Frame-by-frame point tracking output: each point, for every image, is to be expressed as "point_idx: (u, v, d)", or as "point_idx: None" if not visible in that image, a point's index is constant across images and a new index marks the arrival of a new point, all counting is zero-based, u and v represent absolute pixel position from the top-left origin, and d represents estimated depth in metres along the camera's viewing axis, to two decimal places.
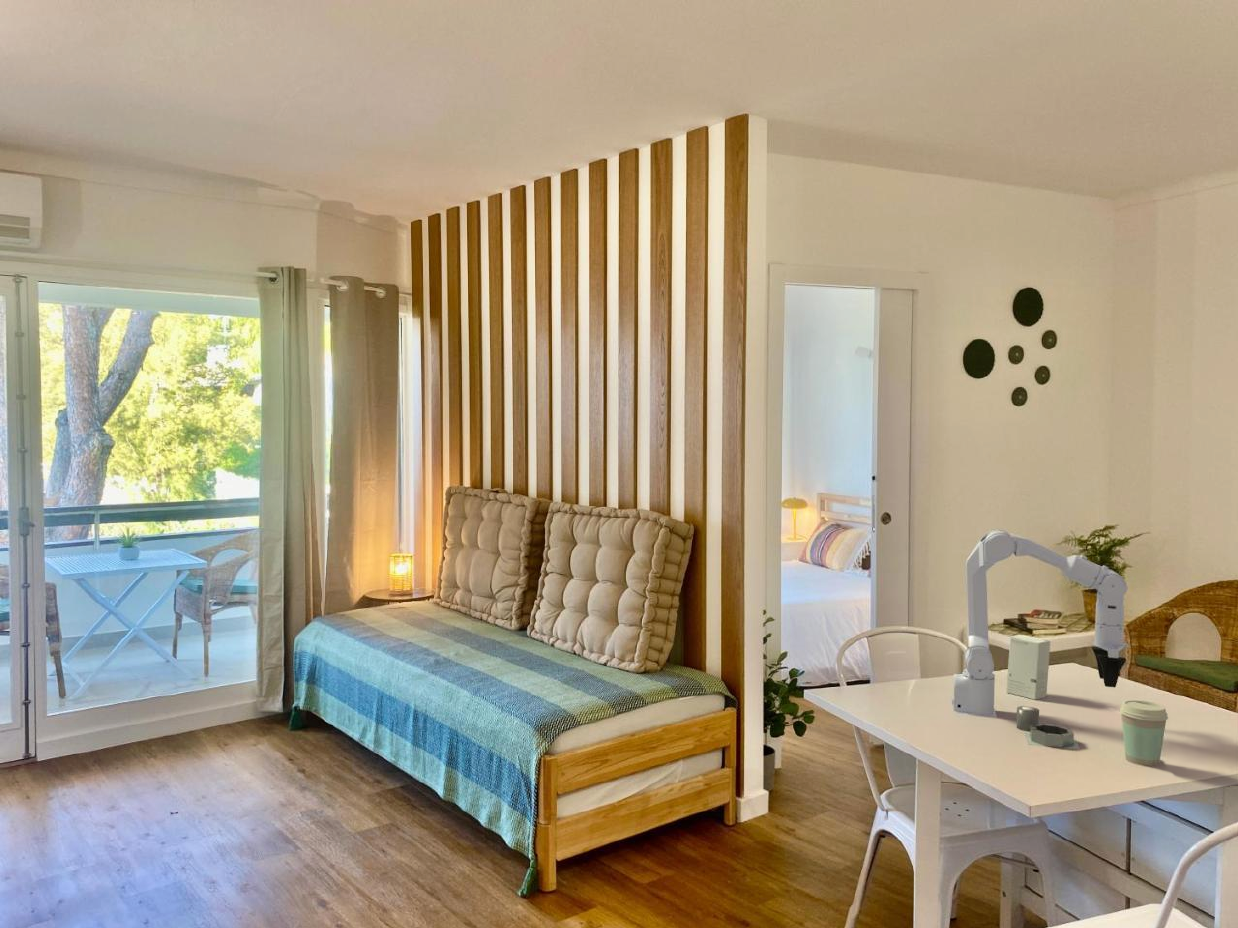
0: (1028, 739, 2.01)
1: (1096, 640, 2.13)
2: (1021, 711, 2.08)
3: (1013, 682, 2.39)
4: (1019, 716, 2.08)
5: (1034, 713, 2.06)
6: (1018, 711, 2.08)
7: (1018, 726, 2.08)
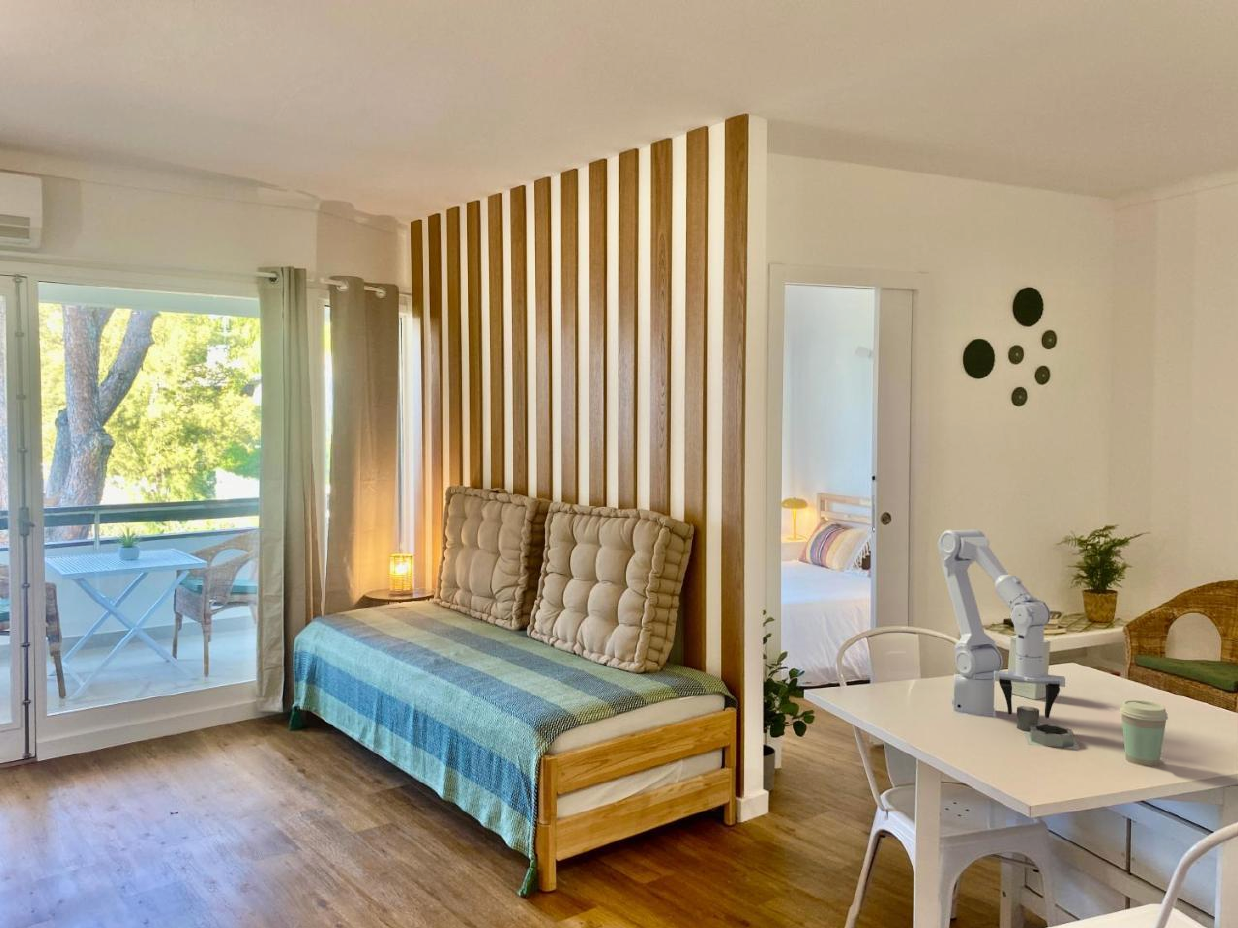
0: (1028, 739, 2.01)
1: None
2: (1021, 711, 2.08)
3: (1013, 682, 2.39)
4: (1019, 716, 2.08)
5: (1034, 713, 2.06)
6: (1018, 711, 2.08)
7: (1018, 726, 2.08)
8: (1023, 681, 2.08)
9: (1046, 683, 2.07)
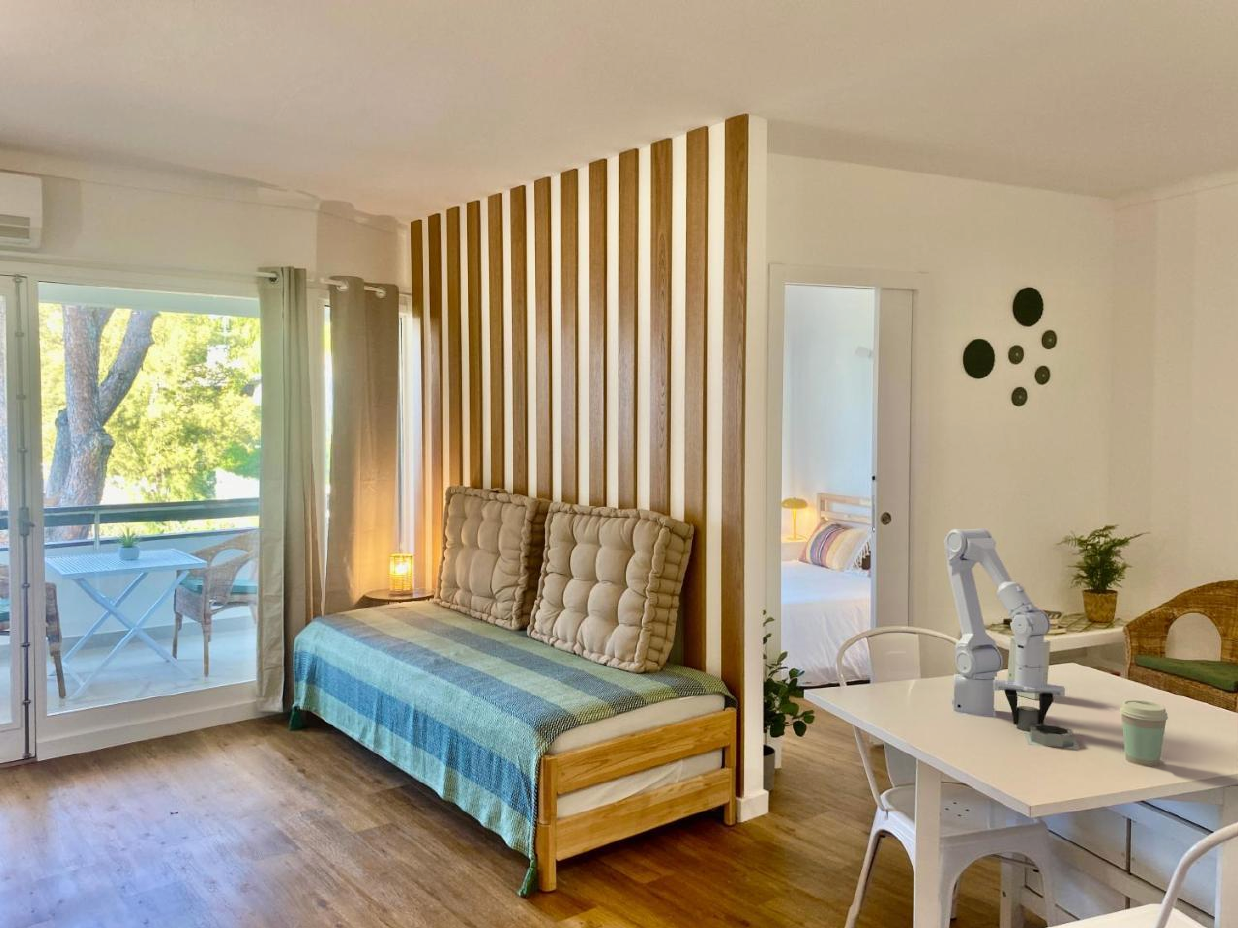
0: (1028, 739, 2.01)
1: None
2: (1021, 711, 2.08)
3: None
4: (1019, 716, 2.08)
5: (1034, 712, 2.06)
6: (1018, 711, 2.08)
7: (1018, 726, 2.08)
8: (1023, 691, 2.09)
9: (1046, 693, 2.07)
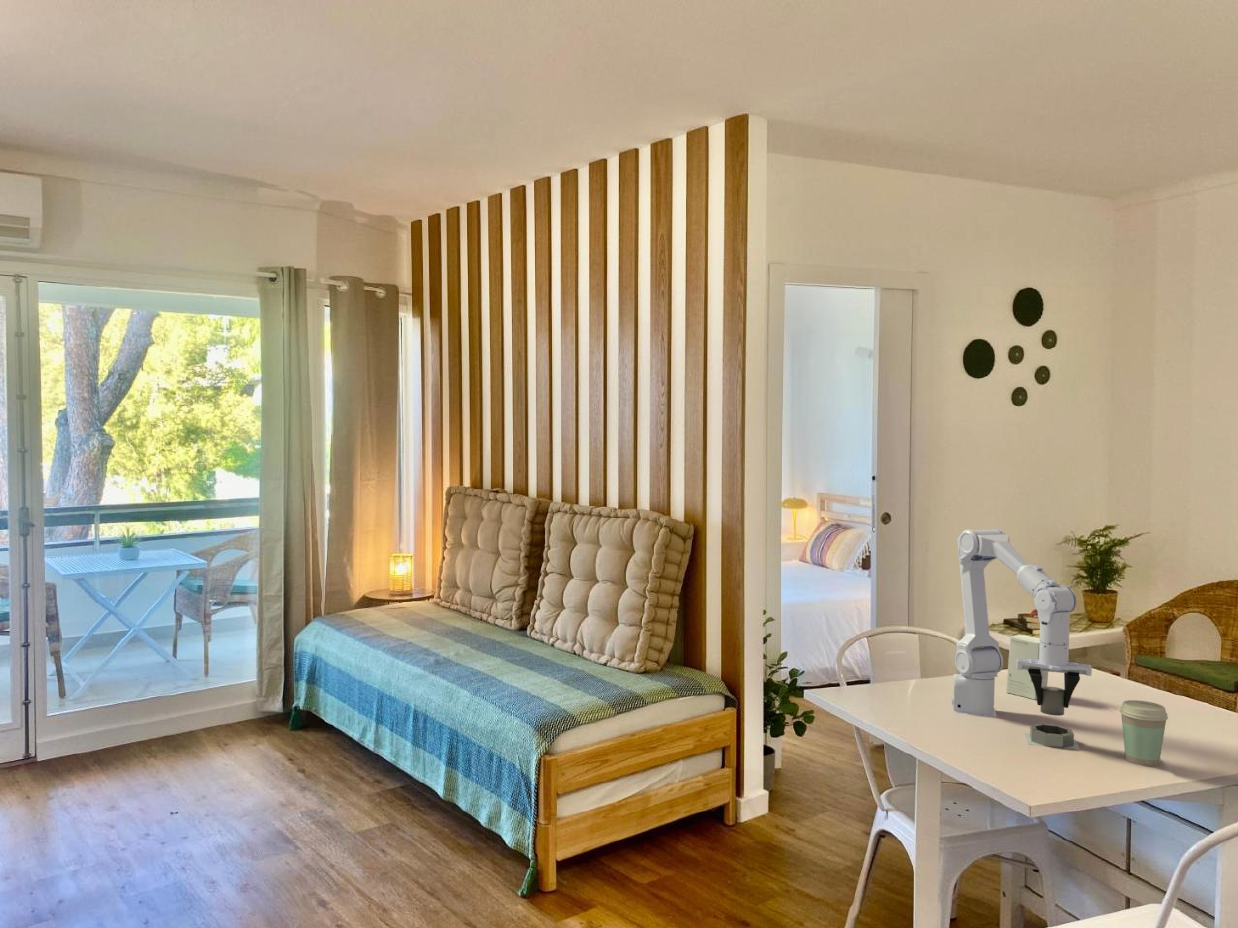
0: (1028, 739, 2.01)
1: None
2: (1046, 691, 1.98)
3: (1013, 682, 2.39)
4: (1043, 696, 1.99)
5: (1060, 693, 1.97)
6: (1043, 691, 1.99)
7: (1043, 707, 1.99)
8: (1047, 670, 2.00)
9: None
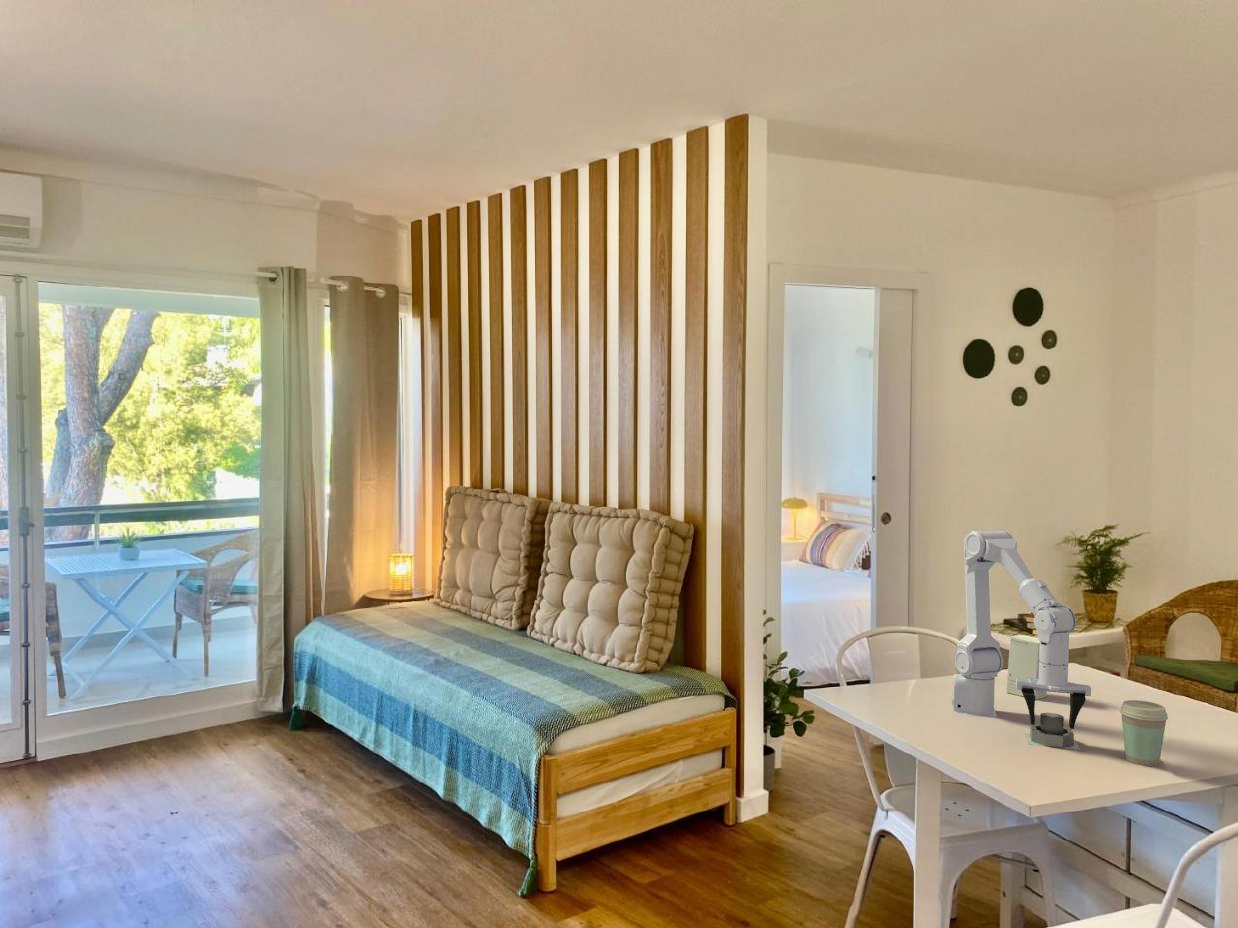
0: (1028, 739, 2.01)
1: None
2: (1045, 718, 1.99)
3: (1013, 682, 2.39)
4: (1042, 723, 1.99)
5: (1059, 719, 1.98)
6: (1042, 718, 1.99)
7: None
8: (1047, 690, 2.00)
9: (1071, 692, 1.98)
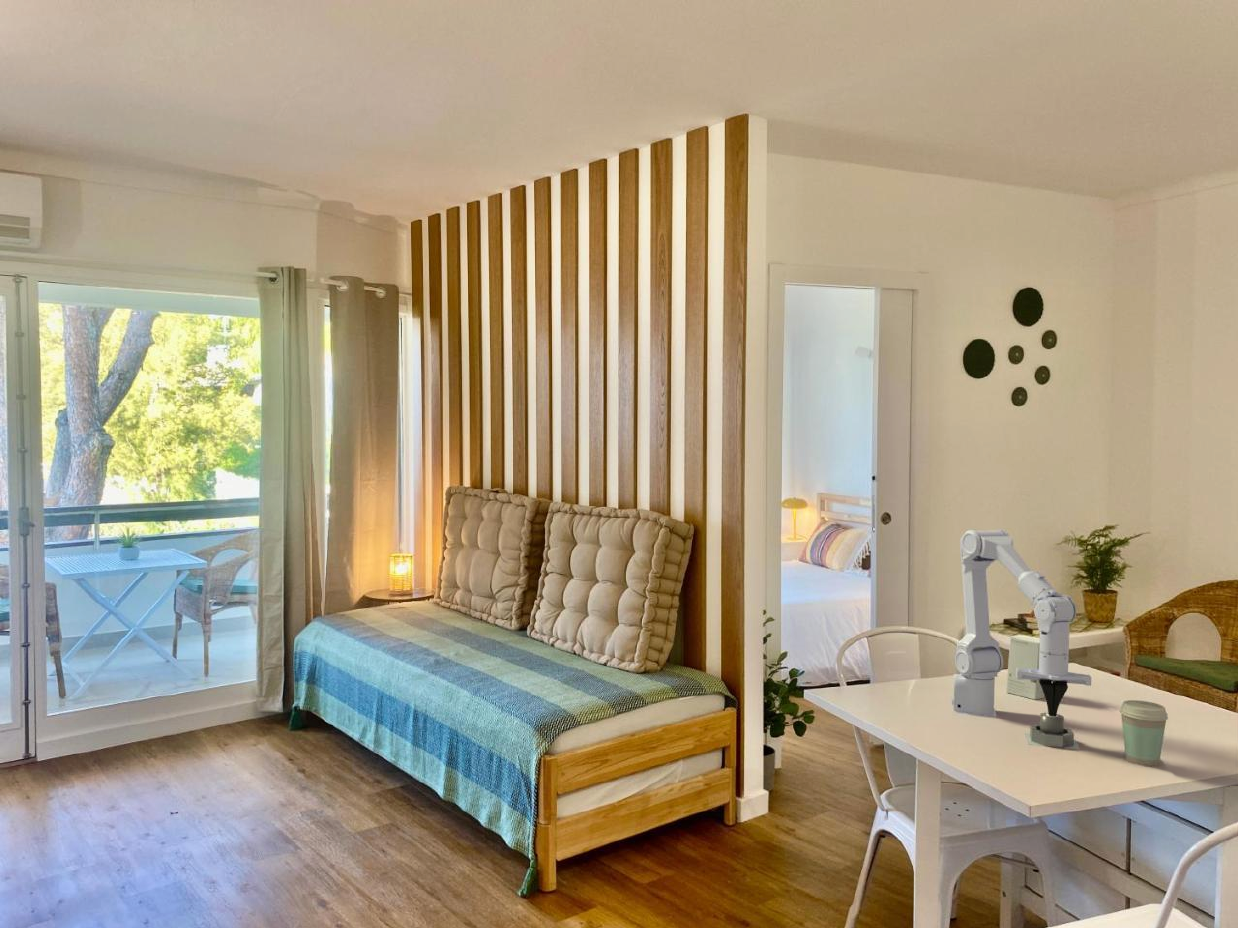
0: (1028, 739, 2.01)
1: None
2: (1045, 718, 1.99)
3: (1013, 682, 2.39)
4: (1042, 723, 1.99)
5: (1059, 719, 1.98)
6: (1042, 718, 1.99)
7: None
8: (1047, 680, 2.00)
9: (1071, 682, 1.98)
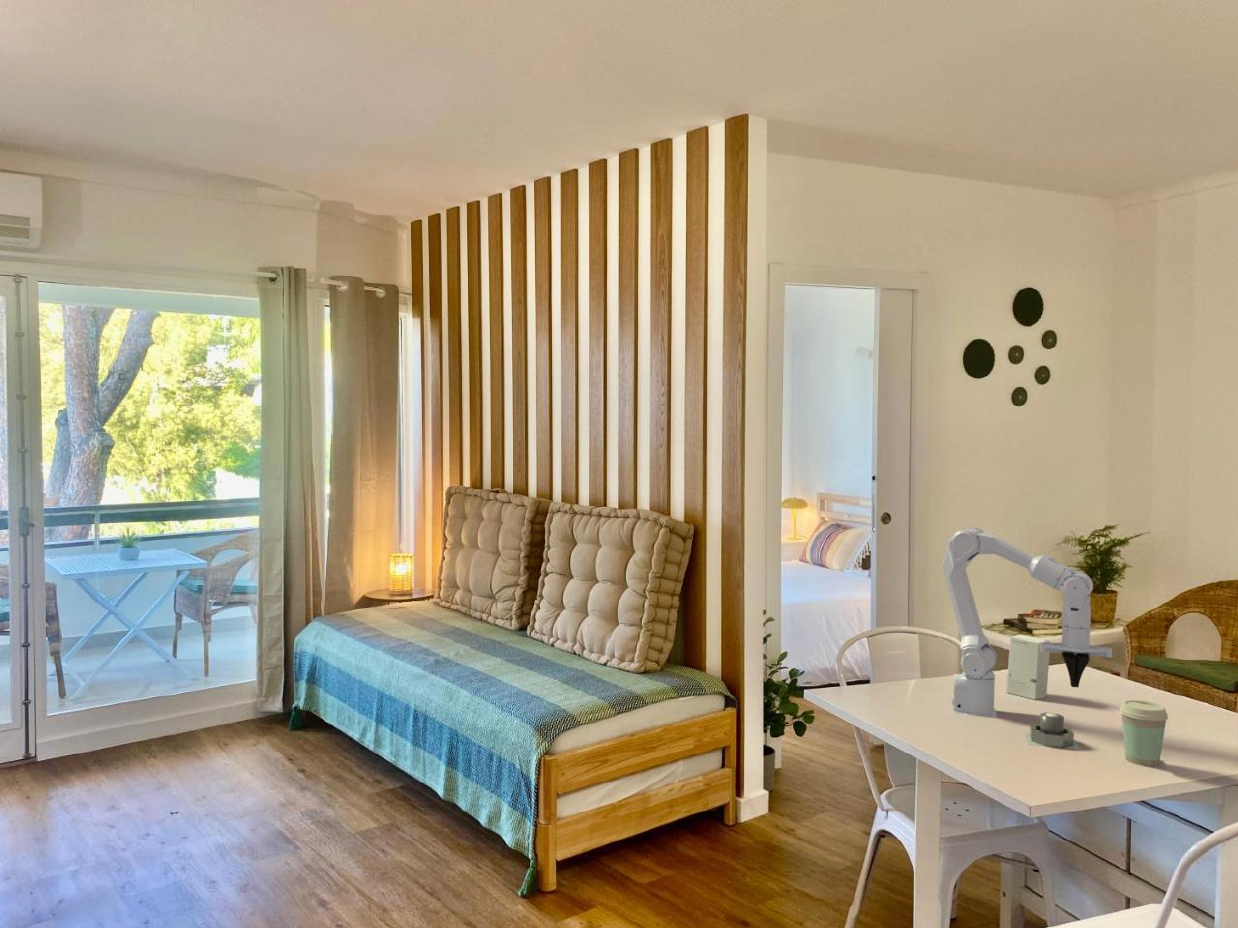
0: (1028, 739, 2.01)
1: None
2: (1045, 718, 1.99)
3: (1013, 682, 2.39)
4: (1042, 723, 1.99)
5: (1059, 719, 1.98)
6: (1042, 718, 1.99)
7: None
8: (1069, 652, 2.10)
9: (1093, 654, 2.08)
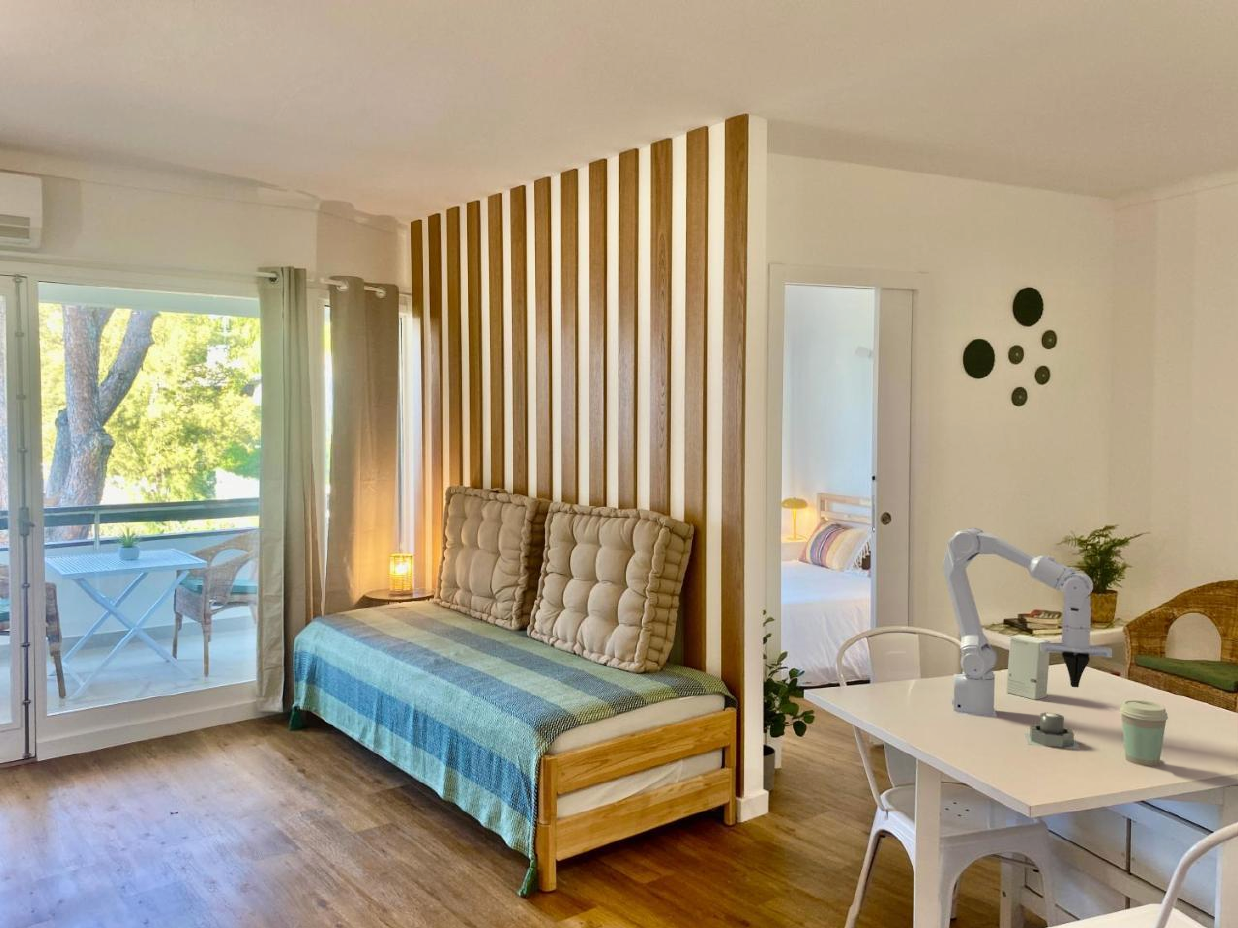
0: (1028, 739, 2.01)
1: None
2: (1045, 718, 1.99)
3: (1013, 682, 2.39)
4: (1042, 723, 1.99)
5: (1059, 719, 1.98)
6: (1042, 718, 1.99)
7: None
8: (1069, 652, 2.10)
9: (1093, 654, 2.08)
